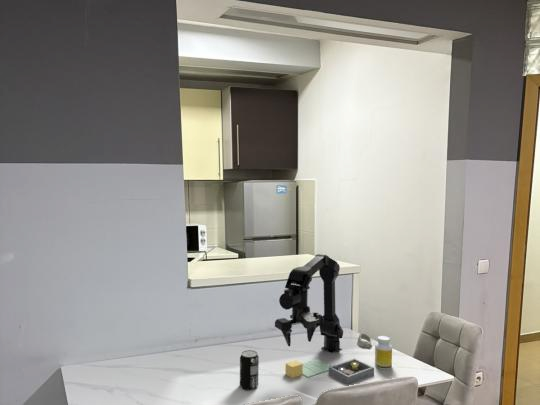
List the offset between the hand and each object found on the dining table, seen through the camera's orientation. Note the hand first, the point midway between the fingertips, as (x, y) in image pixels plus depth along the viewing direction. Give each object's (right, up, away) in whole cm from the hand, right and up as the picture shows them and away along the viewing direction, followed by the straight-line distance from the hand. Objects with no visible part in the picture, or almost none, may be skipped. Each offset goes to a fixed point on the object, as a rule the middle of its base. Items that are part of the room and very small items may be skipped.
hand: (299, 343), depth 156 cm
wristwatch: (+32, -12, +31) cm, 46 cm away
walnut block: (+18, -12, -3) cm, 22 cm away
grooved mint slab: (+4, -12, +4) cm, 13 cm away
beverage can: (-18, -12, -10) cm, 24 cm away
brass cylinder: (+22, -12, +5) cm, 25 cm away
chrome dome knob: (+16, -12, +1) cm, 20 cm away
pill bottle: (+34, -12, +8) cm, 37 cm away
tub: (+20, -12, +1) cm, 23 cm away
